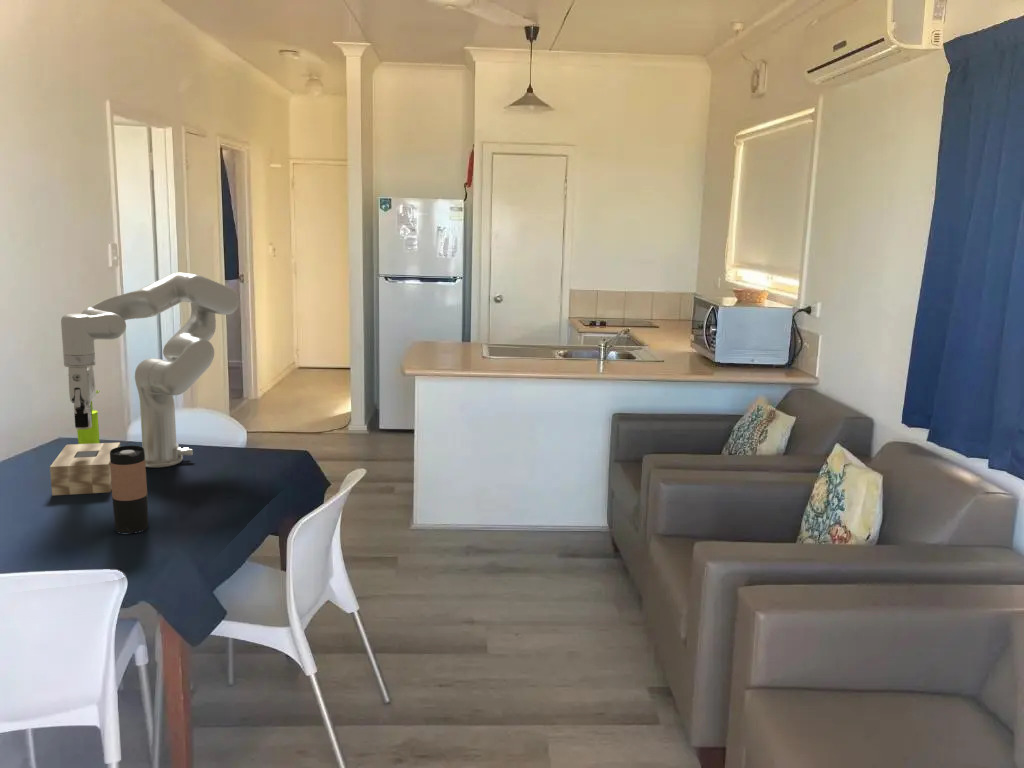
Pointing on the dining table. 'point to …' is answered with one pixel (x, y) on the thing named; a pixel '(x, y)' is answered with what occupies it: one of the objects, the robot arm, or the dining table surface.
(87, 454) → the gray square panel
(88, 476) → the socket block
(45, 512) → the dining table surface
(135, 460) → the travel mug
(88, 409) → the peg
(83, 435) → the green soap pump bottle
